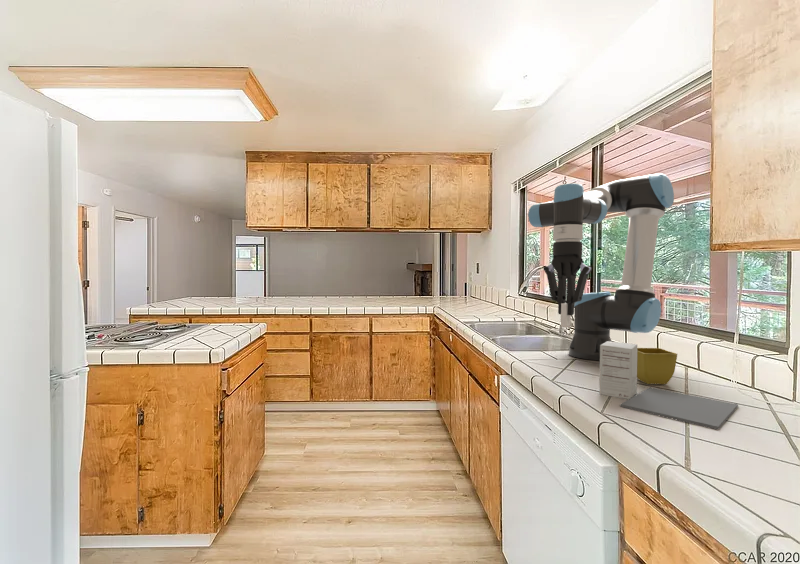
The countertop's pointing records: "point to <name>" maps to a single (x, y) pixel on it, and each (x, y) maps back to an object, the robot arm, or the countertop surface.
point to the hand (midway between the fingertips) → (565, 326)
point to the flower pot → (655, 365)
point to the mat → (682, 407)
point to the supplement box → (618, 369)
